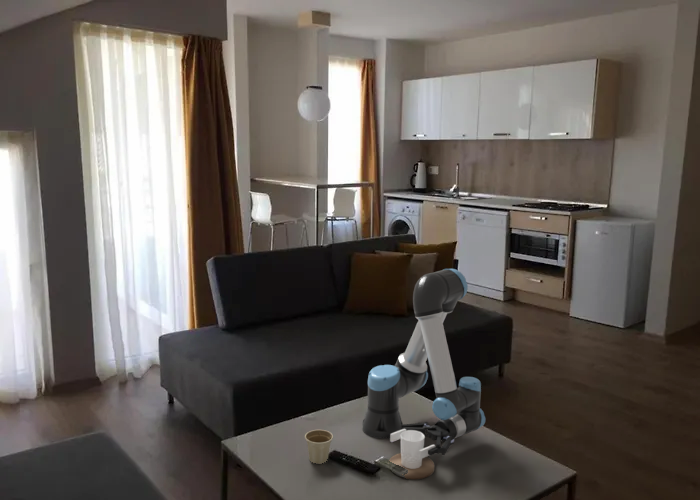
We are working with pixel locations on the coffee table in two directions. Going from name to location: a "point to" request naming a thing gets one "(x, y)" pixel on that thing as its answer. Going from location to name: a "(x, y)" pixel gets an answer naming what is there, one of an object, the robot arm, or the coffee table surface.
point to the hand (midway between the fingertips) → (404, 446)
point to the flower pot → (318, 445)
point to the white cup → (411, 448)
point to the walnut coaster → (417, 473)
